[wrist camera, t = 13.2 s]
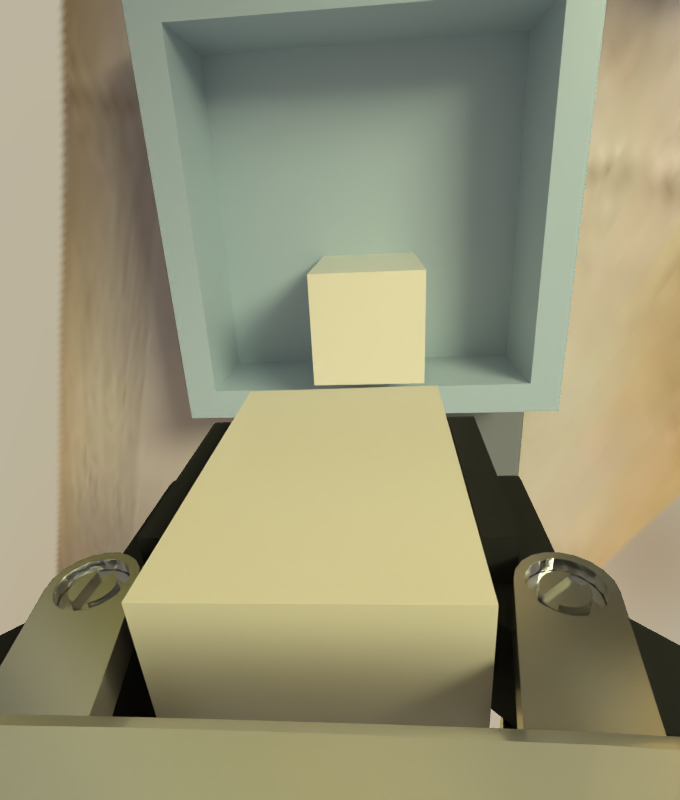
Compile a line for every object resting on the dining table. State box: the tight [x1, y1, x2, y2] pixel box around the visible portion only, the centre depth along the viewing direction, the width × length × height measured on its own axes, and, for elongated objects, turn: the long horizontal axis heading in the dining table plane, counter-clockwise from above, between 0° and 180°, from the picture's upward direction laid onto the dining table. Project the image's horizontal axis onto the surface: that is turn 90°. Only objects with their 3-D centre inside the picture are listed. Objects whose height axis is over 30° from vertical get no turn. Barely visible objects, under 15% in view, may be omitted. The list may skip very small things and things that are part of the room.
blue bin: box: [122, 0, 607, 418], centre depth 20 cm, size 15×15×4 cm
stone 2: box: [121, 385, 499, 728], centre depth 9 cm, size 4×4×6 cm
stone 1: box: [307, 253, 426, 385], centre depth 21 cm, size 4×4×6 cm
